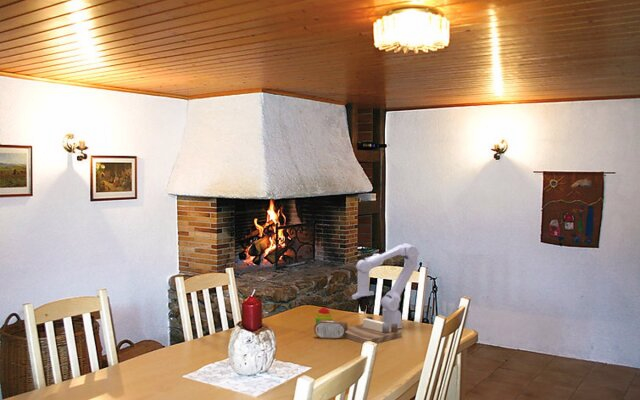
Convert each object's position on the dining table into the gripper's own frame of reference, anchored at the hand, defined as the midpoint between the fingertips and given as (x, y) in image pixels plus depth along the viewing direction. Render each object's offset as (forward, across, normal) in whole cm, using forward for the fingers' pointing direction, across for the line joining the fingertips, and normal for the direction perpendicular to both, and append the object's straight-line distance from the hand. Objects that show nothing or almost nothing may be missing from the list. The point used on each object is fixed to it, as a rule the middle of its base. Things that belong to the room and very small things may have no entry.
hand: (363, 311), depth 294 cm
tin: (+10, +22, -2) cm, 24 cm away
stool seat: (+9, +6, +9) cm, 14 cm away
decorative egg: (+10, +10, -18) cm, 22 cm away
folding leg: (+7, +3, +11) cm, 13 cm away
